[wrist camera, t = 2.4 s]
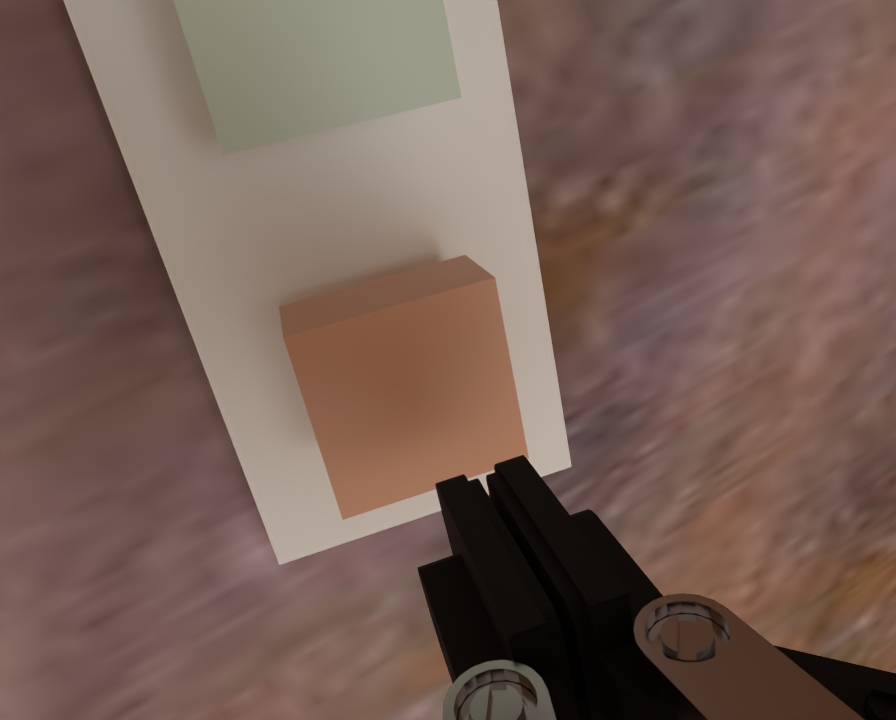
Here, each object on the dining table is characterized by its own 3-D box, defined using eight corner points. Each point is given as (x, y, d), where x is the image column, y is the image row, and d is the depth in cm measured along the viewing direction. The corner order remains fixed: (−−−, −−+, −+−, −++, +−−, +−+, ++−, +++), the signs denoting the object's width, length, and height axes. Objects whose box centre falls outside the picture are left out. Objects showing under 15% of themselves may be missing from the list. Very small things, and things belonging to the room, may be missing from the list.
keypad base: (-251, -879, 12) (-338, -1049, 10) (321, -882, 14) (333, -1031, 12) (277, 529, 24) (279, 564, 22) (548, 440, 26) (571, 466, 24)
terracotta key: (278, 306, 18) (282, 337, 16) (465, 254, 19) (495, 277, 16) (332, 471, 20) (342, 519, 18) (497, 418, 21) (529, 458, 18)
